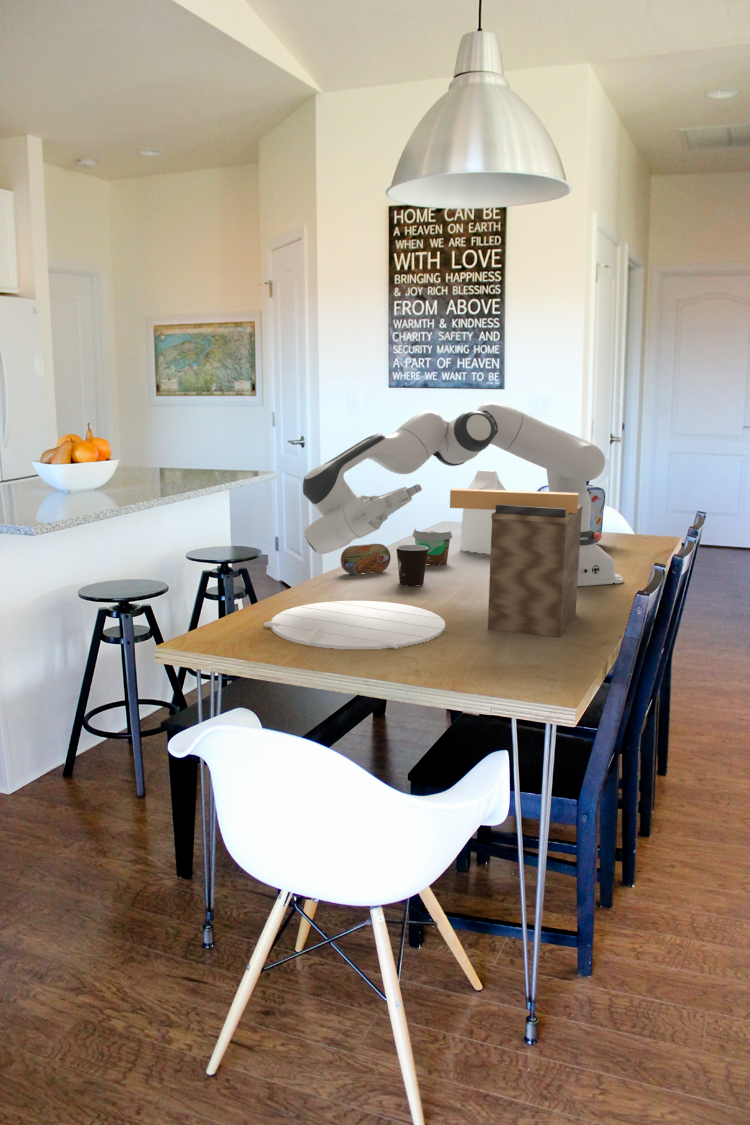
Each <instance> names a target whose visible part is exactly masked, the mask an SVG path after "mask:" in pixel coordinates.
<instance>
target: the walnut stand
mask: <svg viewBox="0 0 750 1125" xmlns="http://www.w3.org/2000/svg"><path fill="white" fill-rule="evenodd" d="M581 516H582V506H581V505H578V509H577V513H566V509H563V508H546V507H530V506H514V505H498V504H497V505H496V512H494V513H492V517H491V518H492V531H491V555H490V558H489V559H490V561H489V586H488V589H489V590H488V612H487V630H493V631H501V632H512V633H519V634H527V635H528V634H530V635H537V636H544V637H545V636H546V637H553V638H554V637H555V638H561V636H562V635H563V633H564V631H566V628H567V627H568V626H569V624H570V623H571V622H572V621H573V618H574V617H575V616H576V614H577V600H578V599H577V598H578V586H577V584H578V567H579V550H580V533H581Z"/></svg>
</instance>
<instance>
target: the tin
mask: <svg viewBox="0 0 750 1125" xmlns="http://www.w3.org/2000/svg"><path fill="white" fill-rule="evenodd" d="M340 555H341V556H340V565H341V568H342V569H343V571H344V572H346V573H348V574H349V575H353V576H355V575H354V574H361V573H371V572H372V573H371V574H374V573H373V572H380V573H383V572H384V571H385V570H386V569H387V568H388V567H389V566H390V562H391V553H390V550H389V549H388V547H387V546H385V545H384V544H382V543H368V544H358V545H350V546H348V547H346V548H344V550H343V551H342V553H341V554H340Z"/></svg>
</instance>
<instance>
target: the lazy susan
mask: <svg viewBox="0 0 750 1125" xmlns="http://www.w3.org/2000/svg"><path fill="white" fill-rule="evenodd" d="M263 626H265V627H268V628H270V629H271V630H272V632H273V633H274V634H275V635H277V636H278V637H280V638H282V639H284V640H287V641H289V642H292V643H297V644H299V645H305V646H310V647H314V646H315V647H316V648H321V647H323V649H330V648H334V649H333V650H344V649H378V650H382V649H381V648H391V649H396V650H397V649H398V647H400V646H406V647H408V646H407V645H412V644H416V645H418V644H417V643H420V642H424V641H427V640H430V639H432V638H435V637H437V636H438V637H440V636H441V635H442V634H443V633H444V632H445V631H446V621H445V620H444V618H443V617H441V616H440V615H439V614H436V613H435V612H433V611H430V610H428V609H424V608H421V607H417V606H414V605H408V604H402V603H396V602H389V601H388V602H387V601H375V600H339V601H338V600H337V601H335V600H334V601H324V602H315V603H314V602H313V603H310V604H309V603H308V604H303V605H299V606H294V607H292V608H291V607H290V608H289V609H288V608H287V609H285V610H283V611H281V612H279V613H277V614H276V615H274V616H273V617H272V618H271V620H270V621H267V622H266V621H265V622H264V623H263ZM443 631H444V632H443ZM442 632H443V633H442ZM441 633H442V634H441ZM440 634H441V635H440ZM439 635H440V636H439ZM438 637H437V638H438ZM435 639H436V638H435ZM430 641H431V640H430ZM427 642H428V641H427ZM424 643H425V642H424ZM420 644H421V643H420ZM412 646H413V645H412ZM400 648H401V647H400Z"/></svg>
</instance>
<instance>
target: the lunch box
mask: <svg viewBox="0 0 750 1125" xmlns="http://www.w3.org/2000/svg"><path fill="white" fill-rule="evenodd" d="M590 481H591V480H590ZM590 481H586V487H587V492H588V495H589V498H590V501H591V513H590V530H591V531H593V532H594V533H596V532H598V533H600V535H602V531H603V526H604V525H603V521H604V509H605V503H606V492H605V490H604V489H603V488H602V487H600V486H596V485H593V484H590V483H591V482H590ZM536 491H540V492H549V486H548V484H547V485H542V486H541V487H539V488H538V489H537V490H536ZM597 543H599V541H598V540H596V539H595V544H597Z"/></svg>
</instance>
